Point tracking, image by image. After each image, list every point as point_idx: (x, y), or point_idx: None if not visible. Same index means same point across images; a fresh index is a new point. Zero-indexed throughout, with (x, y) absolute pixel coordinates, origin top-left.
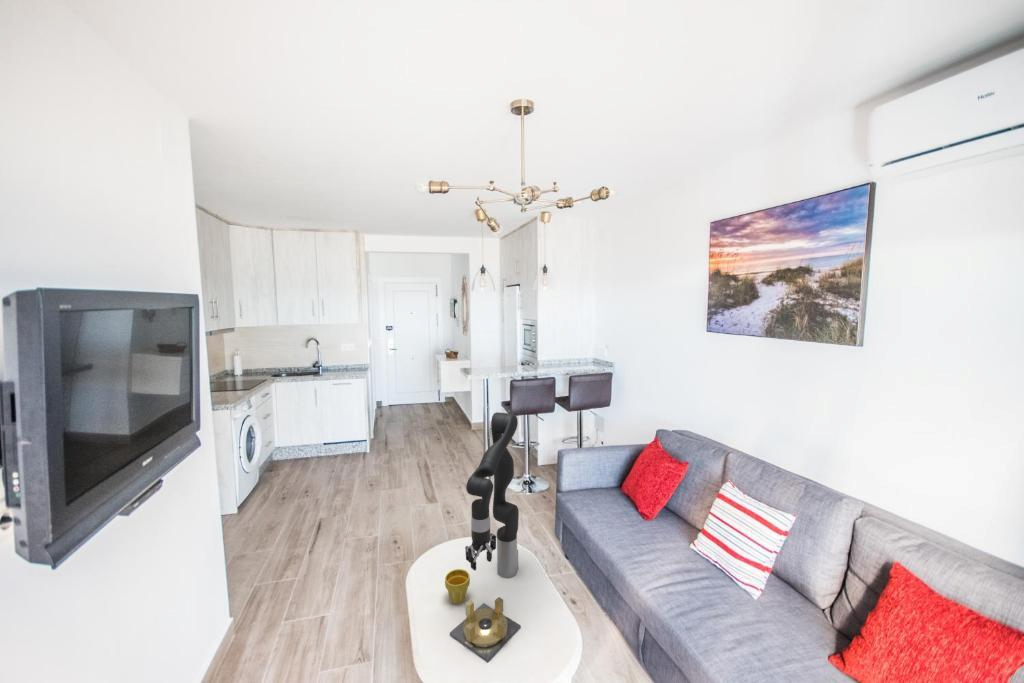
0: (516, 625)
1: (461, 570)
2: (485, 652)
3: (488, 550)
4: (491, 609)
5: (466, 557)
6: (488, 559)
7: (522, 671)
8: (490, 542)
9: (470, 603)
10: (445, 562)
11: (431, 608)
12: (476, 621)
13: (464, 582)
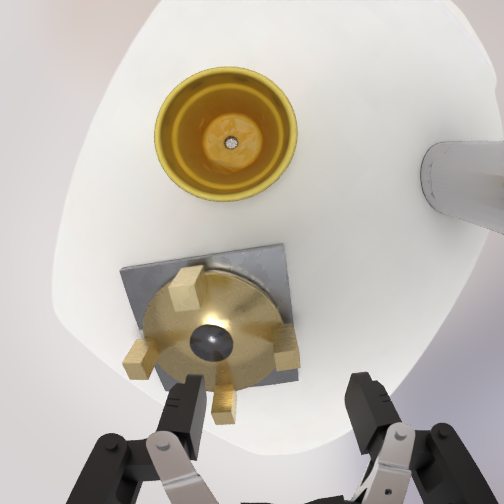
0: (289, 375)
1: (279, 98)
2: (170, 378)
3: (360, 483)
4: (270, 310)
5: (91, 465)
6: (352, 397)
7: (215, 431)
8: (446, 474)
9: (185, 303)
10: None
11: (132, 126)
12: (196, 315)
13: (273, 134)
